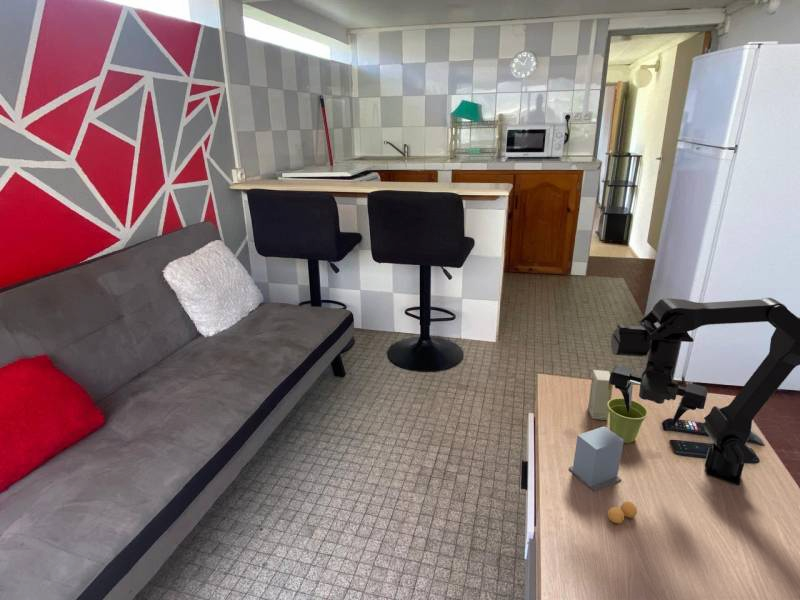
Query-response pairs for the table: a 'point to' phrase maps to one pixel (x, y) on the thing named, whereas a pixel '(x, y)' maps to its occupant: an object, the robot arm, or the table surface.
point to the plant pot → (626, 418)
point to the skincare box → (600, 395)
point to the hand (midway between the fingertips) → (650, 418)
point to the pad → (600, 485)
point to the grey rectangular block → (597, 455)
